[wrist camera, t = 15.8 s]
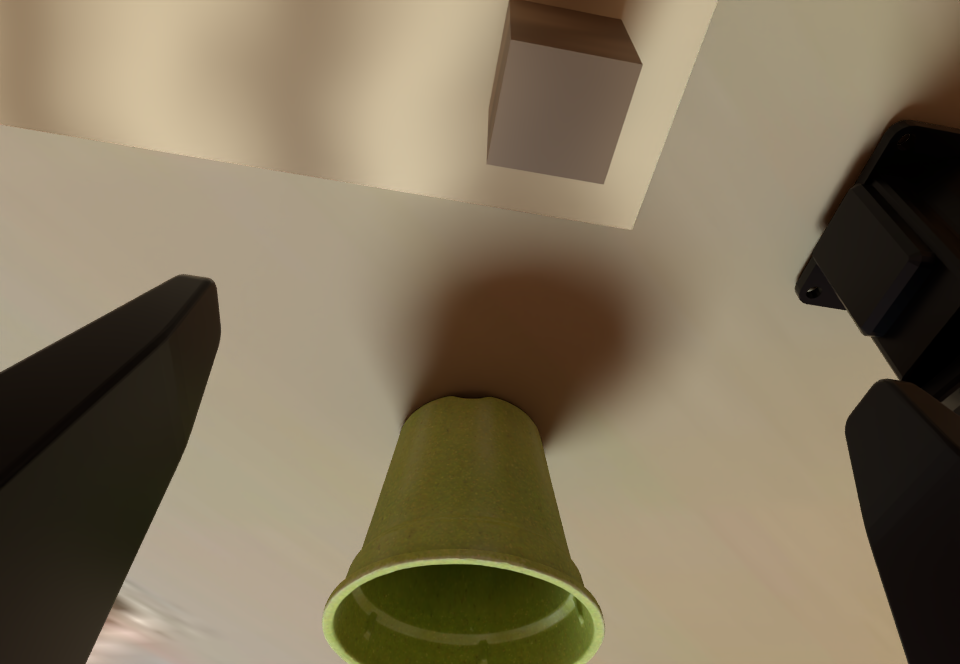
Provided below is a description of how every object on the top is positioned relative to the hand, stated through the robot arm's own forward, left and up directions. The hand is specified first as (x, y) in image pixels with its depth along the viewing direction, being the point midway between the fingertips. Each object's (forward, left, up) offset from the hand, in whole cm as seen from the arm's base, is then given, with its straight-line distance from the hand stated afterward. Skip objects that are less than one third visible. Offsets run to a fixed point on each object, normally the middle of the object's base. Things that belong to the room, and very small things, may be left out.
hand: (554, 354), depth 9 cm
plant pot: (-1, +16, -13) cm, 21 cm away
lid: (+5, 0, -13) cm, 14 cm away
